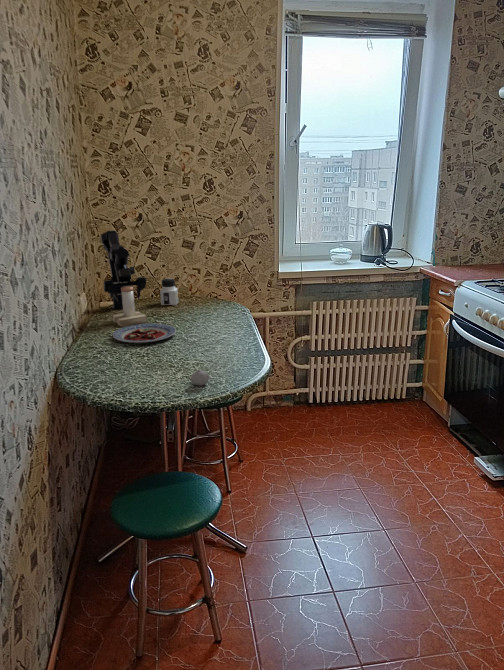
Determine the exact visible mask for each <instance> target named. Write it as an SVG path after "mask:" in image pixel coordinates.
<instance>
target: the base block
mask: <svg viewBox="0 0 504 670" xmlns="http://www.w3.org/2000/svg"><path fill="white" fill-rule="evenodd" d="M112 322H113V323H115V324H116V325H118V326H120V327H121V328H124V327H128V326H133V325H139V324H148V315H146V314H144V313H142V312H140V311H139V310H135V316H132V317H124V313H123V312H122V313H121V312H120V313H116V314H112Z"/></svg>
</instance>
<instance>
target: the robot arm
mask: <svg viewBox="0 0 504 670" xmlns="http://www.w3.org/2000/svg"><path fill="white" fill-rule="evenodd" d="M99 237H100V243H101V244H102V248H103V249H104V250H105V251H106V253H107V259H108V264H109V270H110V275H111V278H110V279H108V280H107V279H106V280H104V281H103V292H105V293H107V294H108V295H109V297H110V298H112V305H111V309H113V310H123V303H122V293H121V287H124V286H133V287H134V286H136V294H137V295H136V296H137V299H138V300H140V296H141V291H143V290H144V289H145V288H146V287H147V279H146V277H144V276H141V277H140V276H138V277H136V280H132V275H135V274H136V270H135V266H129V267H128V263H129V257H130V253H129V251H128V249H126V248H125V247H124V246H123V245H121V244H120V236H119V233H118V232H117V230H107V231H105V232H103V233H101V234H100V236H99Z"/></svg>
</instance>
